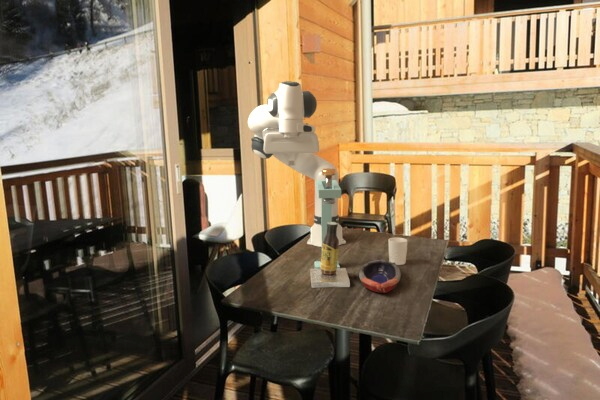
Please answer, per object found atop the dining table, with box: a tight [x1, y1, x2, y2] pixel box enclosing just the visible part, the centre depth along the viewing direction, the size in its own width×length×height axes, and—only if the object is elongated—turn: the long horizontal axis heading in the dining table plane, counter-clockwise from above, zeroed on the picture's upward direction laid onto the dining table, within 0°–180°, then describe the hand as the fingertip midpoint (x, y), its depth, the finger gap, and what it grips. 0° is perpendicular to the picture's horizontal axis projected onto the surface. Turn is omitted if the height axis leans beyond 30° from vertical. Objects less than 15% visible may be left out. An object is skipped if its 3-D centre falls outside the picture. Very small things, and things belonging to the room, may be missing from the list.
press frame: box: [313, 180, 342, 269], centre depth 194 cm, size 27×10×36 cm, turn 0°
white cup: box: [388, 236, 408, 266], centre depth 210 cm, size 8×8×10 cm
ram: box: [322, 168, 337, 204], centre depth 184 cm, size 5×5×12 cm
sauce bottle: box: [320, 222, 339, 275], centre depth 191 cm, size 7×6×20 cm
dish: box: [358, 259, 402, 294], centre depth 187 cm, size 16×31×5 cm, turn 168°
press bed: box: [309, 267, 351, 289], centre depth 191 cm, size 16×14×2 cm
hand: (291, 165), depth 183 cm, fingers closed
